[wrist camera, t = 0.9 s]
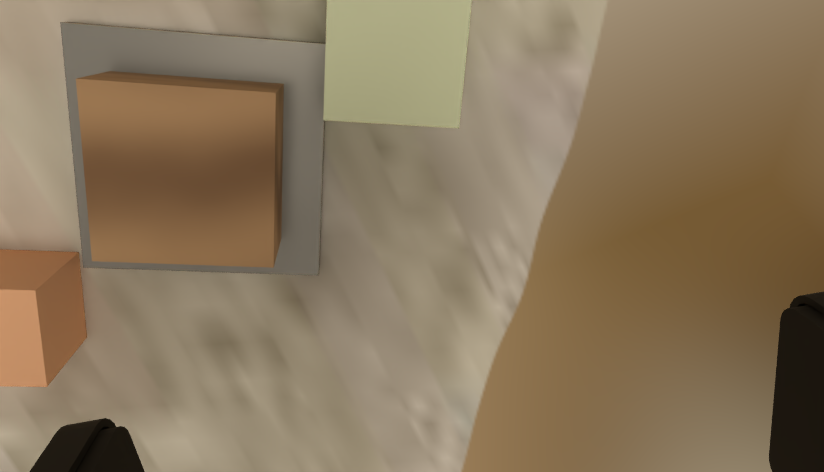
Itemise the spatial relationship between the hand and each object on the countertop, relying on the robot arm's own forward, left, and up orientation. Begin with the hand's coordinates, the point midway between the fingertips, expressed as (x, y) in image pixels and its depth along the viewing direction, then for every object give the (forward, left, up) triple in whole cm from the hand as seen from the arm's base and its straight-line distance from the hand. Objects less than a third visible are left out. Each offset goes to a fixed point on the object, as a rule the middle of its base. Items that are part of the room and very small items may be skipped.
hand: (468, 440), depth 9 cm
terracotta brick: (-10, +18, -25) cm, 32 cm away
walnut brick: (-2, +9, -24) cm, 26 cm away
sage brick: (+4, 0, -25) cm, 25 cm away
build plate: (-2, +9, -25) cm, 26 cm away
